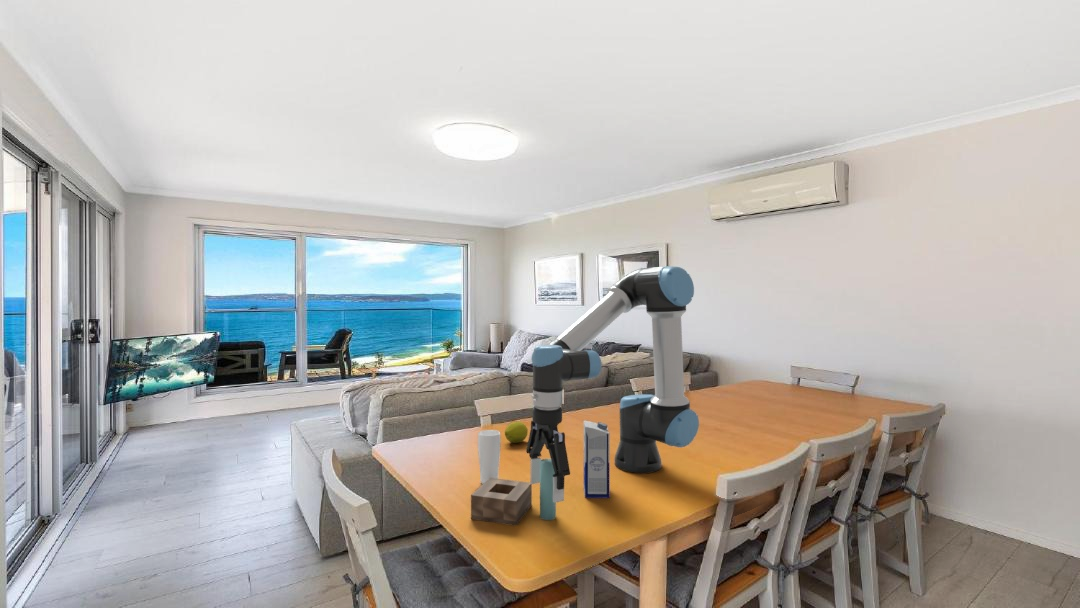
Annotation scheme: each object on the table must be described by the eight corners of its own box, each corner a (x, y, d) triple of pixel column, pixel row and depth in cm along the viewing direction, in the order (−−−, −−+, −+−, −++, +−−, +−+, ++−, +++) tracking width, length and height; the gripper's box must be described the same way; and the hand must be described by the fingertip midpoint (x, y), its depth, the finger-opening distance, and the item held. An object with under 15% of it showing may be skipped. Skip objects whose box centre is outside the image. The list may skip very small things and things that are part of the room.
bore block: (531, 505, 127) (531, 482, 127) (516, 525, 115) (516, 501, 115) (490, 499, 130) (490, 477, 130) (471, 518, 119) (471, 495, 119)
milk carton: (583, 487, 138) (583, 419, 138) (606, 487, 138) (606, 419, 138) (585, 498, 131) (585, 425, 131) (609, 498, 131) (609, 426, 131)
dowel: (557, 514, 122) (557, 459, 121) (553, 521, 118) (553, 464, 118) (542, 512, 123) (542, 458, 123) (537, 518, 119) (537, 463, 119)
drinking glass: (491, 488, 138) (491, 437, 138) (473, 483, 141) (473, 433, 141) (505, 481, 144) (505, 431, 143) (487, 476, 147) (487, 428, 147)
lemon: (520, 437, 188) (520, 417, 188) (533, 442, 182) (533, 421, 182) (498, 443, 181) (498, 422, 181) (511, 448, 175) (511, 426, 175)
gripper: (514, 398, 129) (513, 477, 130) (557, 419, 108) (556, 514, 109) (539, 395, 133) (538, 472, 133) (585, 416, 111) (584, 507, 112)
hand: (546, 491), depth 121 cm, fingers open, 11 cm apart
